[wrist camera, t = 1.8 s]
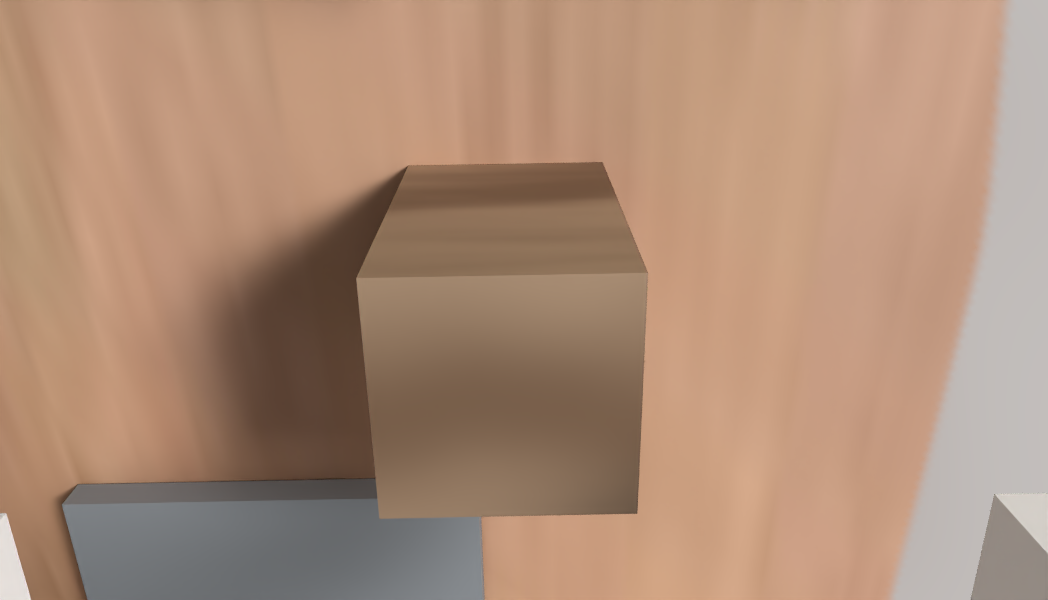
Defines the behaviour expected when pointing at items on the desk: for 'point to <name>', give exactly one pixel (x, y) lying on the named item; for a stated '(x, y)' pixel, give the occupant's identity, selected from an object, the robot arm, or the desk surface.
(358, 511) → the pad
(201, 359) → the desk surface
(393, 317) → the block
